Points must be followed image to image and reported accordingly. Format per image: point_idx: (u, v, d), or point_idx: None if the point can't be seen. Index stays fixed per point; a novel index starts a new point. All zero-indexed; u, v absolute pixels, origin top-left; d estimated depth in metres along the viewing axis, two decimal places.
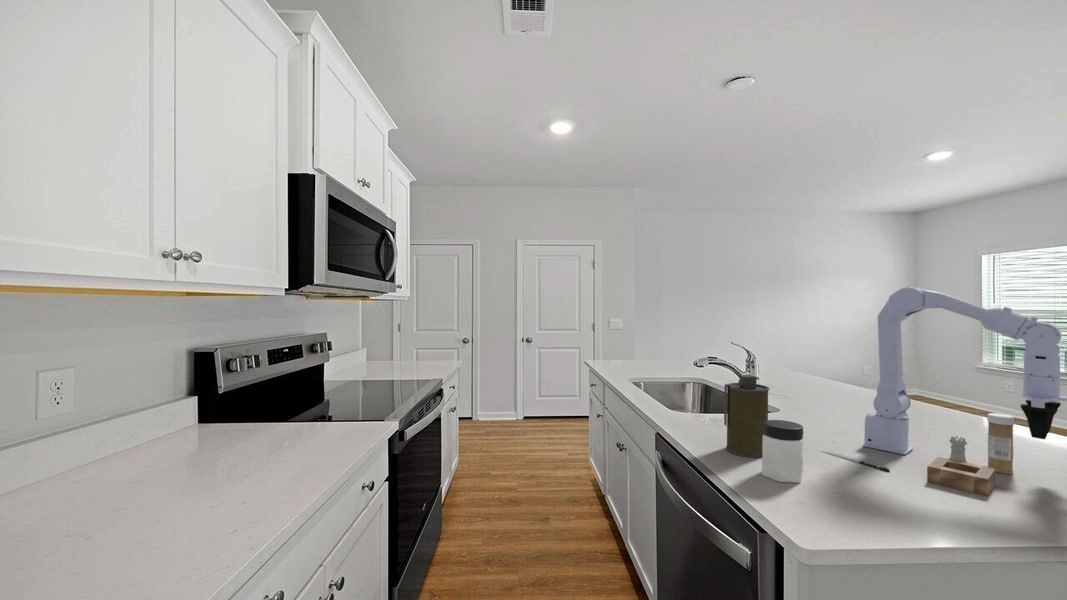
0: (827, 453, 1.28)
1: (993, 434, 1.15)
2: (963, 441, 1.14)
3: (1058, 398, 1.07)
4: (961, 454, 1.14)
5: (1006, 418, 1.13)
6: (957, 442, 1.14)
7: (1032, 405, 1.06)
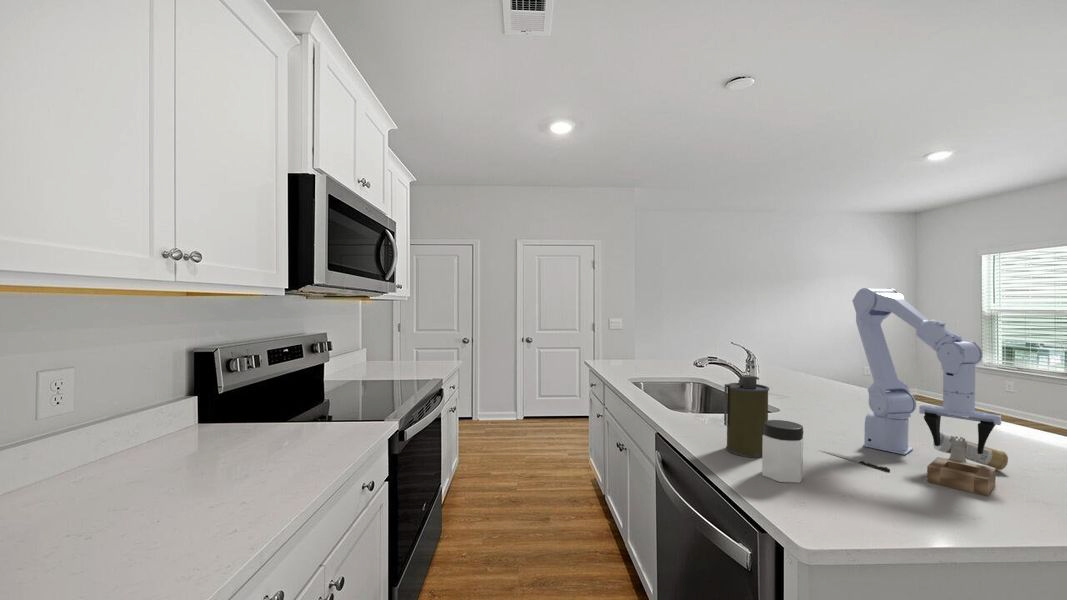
0: (827, 453, 1.28)
1: None
2: (963, 441, 1.14)
3: (948, 411, 1.14)
4: (961, 454, 1.14)
5: (944, 439, 1.18)
6: (957, 442, 1.14)
7: None
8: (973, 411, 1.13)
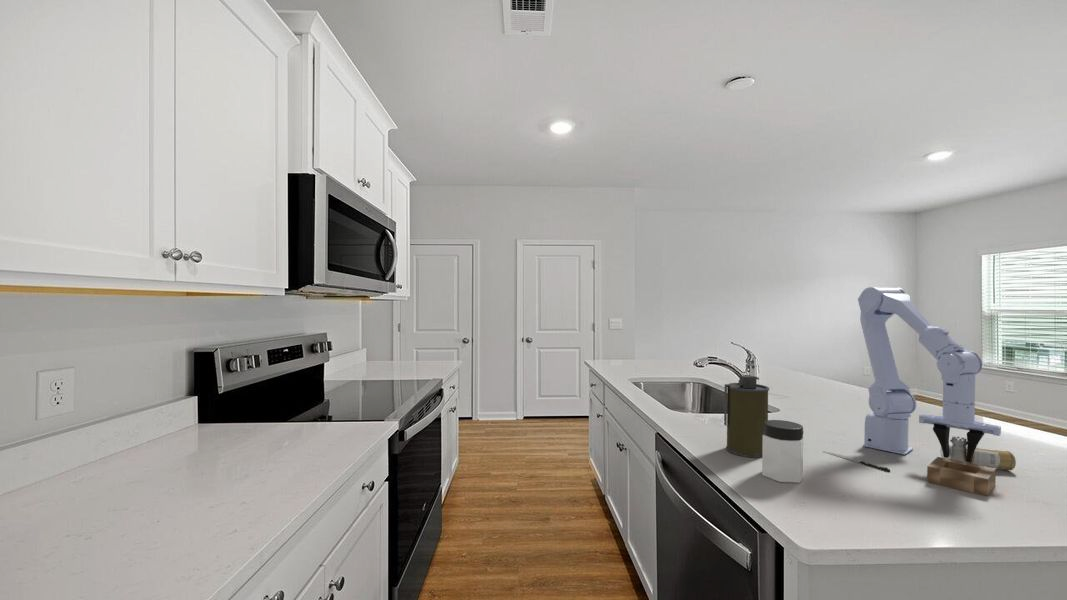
0: (828, 453, 1.28)
1: None
2: (964, 441, 1.14)
3: (948, 422, 1.14)
4: (962, 454, 1.14)
5: (951, 450, 1.17)
6: (958, 442, 1.14)
7: None
8: (973, 421, 1.13)
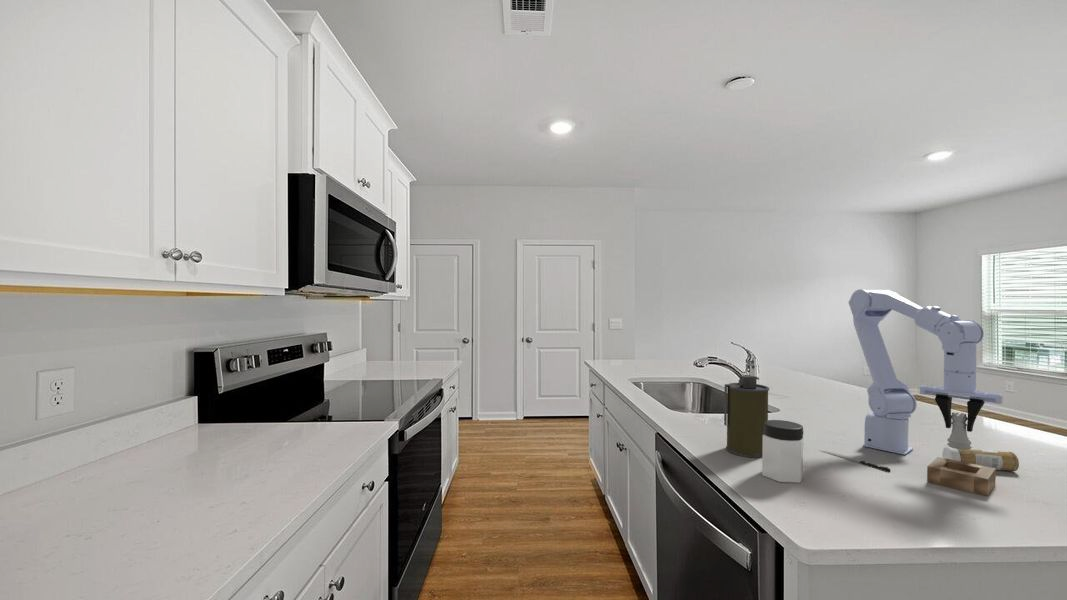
0: (828, 453, 1.28)
1: None
2: (964, 416, 1.13)
3: (949, 391, 1.14)
4: (963, 430, 1.13)
5: (952, 456, 1.17)
6: (958, 417, 1.13)
7: None
8: (974, 390, 1.12)
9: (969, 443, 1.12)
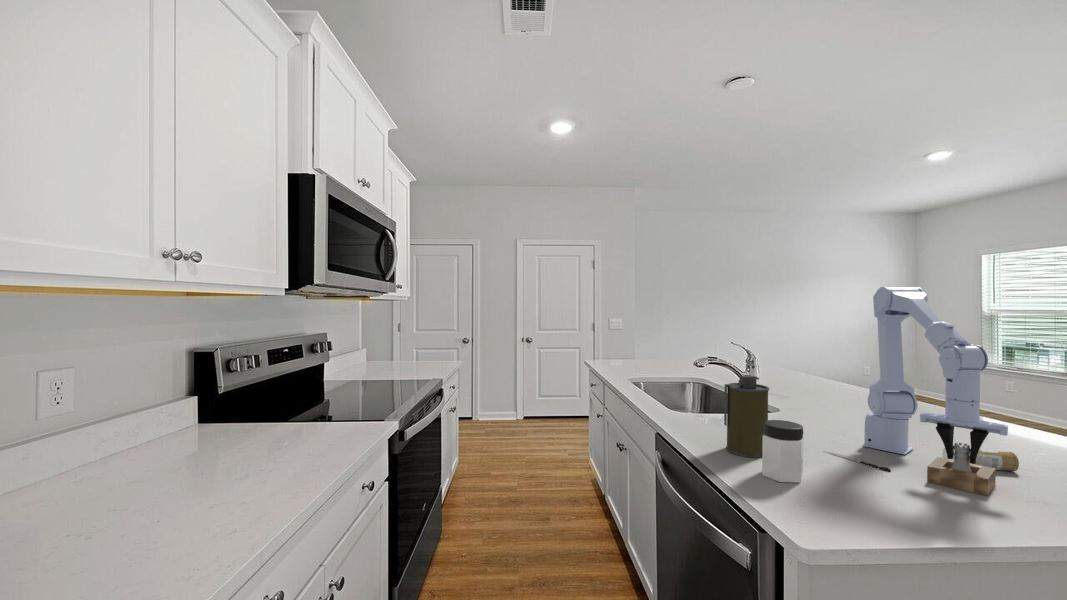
0: (828, 453, 1.28)
1: None
2: (968, 448, 1.07)
3: (951, 420, 1.07)
4: (965, 462, 1.07)
5: None
6: (961, 449, 1.07)
7: None
8: (978, 420, 1.05)
9: None
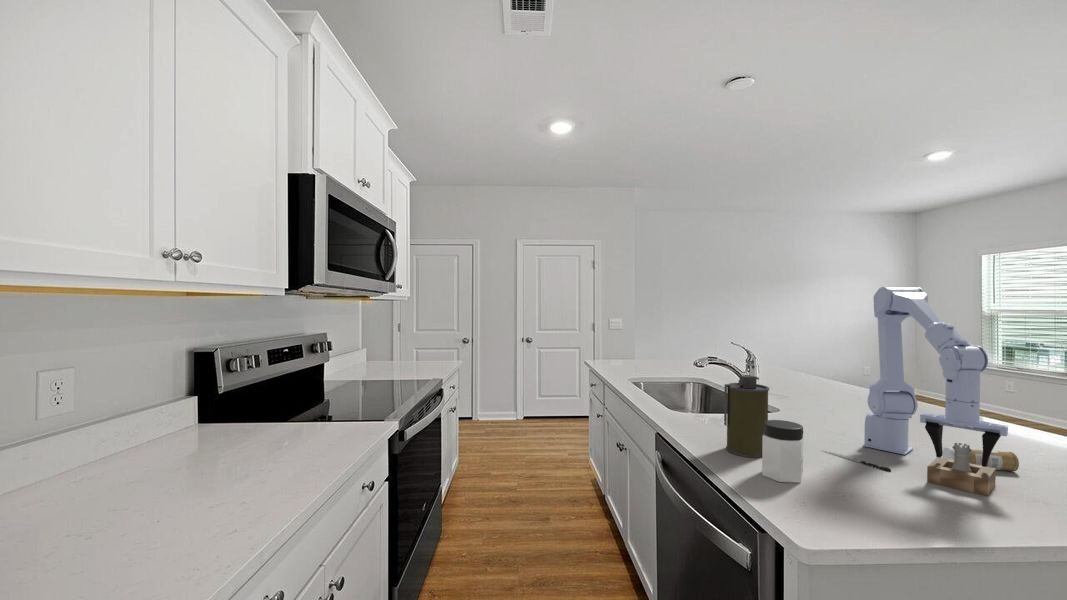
0: (829, 453, 1.28)
1: None
2: (967, 448, 1.07)
3: (951, 421, 1.07)
4: (965, 462, 1.07)
5: (952, 456, 1.17)
6: (961, 449, 1.07)
7: None
8: (977, 421, 1.05)
9: None
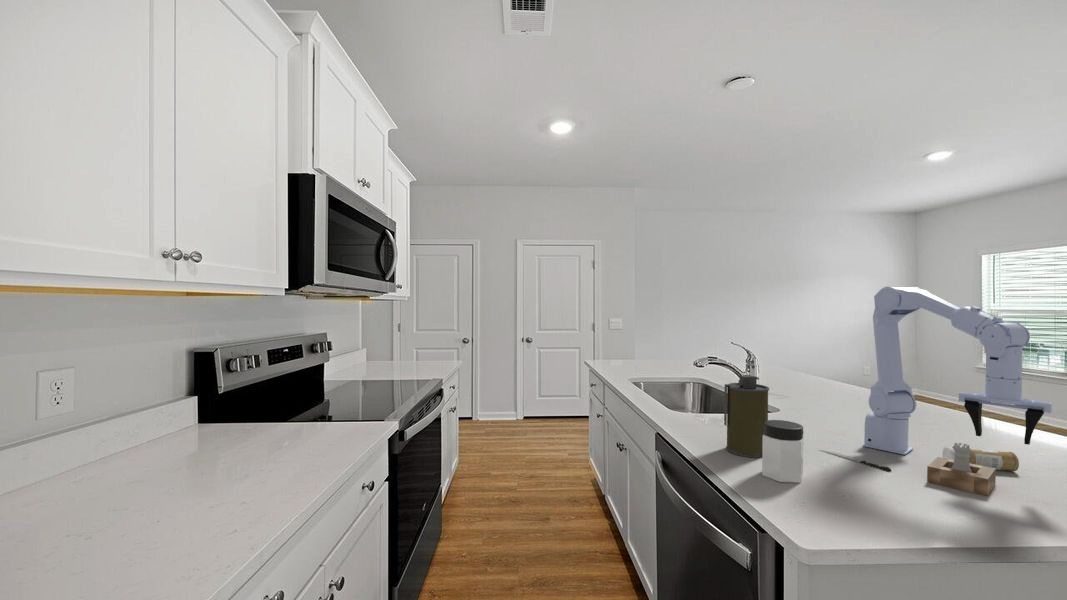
0: (829, 453, 1.28)
1: None
2: (967, 448, 1.07)
3: (992, 399, 1.06)
4: (965, 462, 1.07)
5: (952, 456, 1.17)
6: (961, 449, 1.07)
7: None
8: (1020, 398, 1.04)
9: None
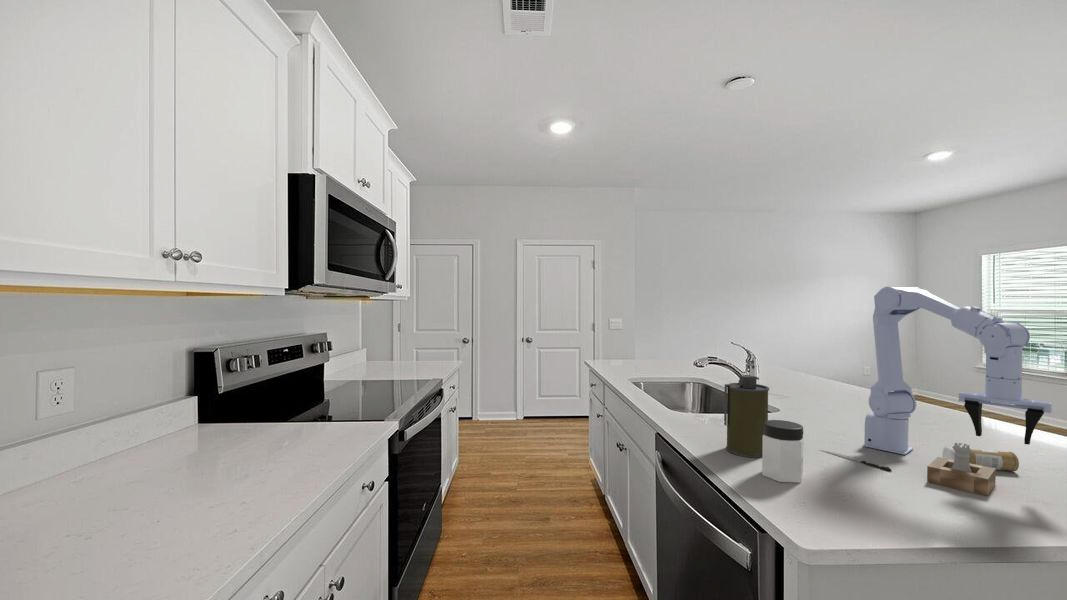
0: (829, 453, 1.28)
1: None
2: (967, 448, 1.07)
3: (992, 399, 1.06)
4: (965, 462, 1.07)
5: (952, 456, 1.17)
6: (961, 449, 1.07)
7: None
8: (1020, 398, 1.04)
9: None
